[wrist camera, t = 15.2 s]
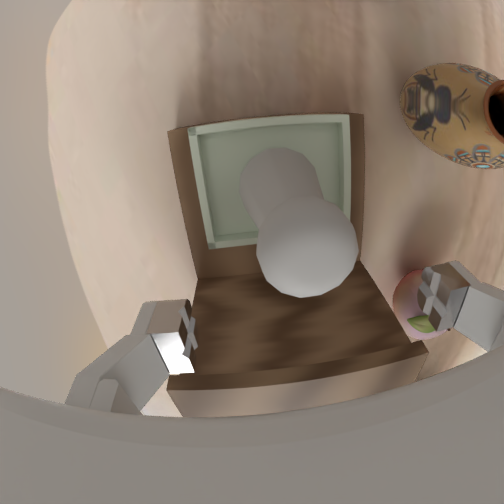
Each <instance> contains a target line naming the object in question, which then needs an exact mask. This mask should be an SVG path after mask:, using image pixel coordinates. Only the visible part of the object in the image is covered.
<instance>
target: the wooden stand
mask: <svg viewBox="0 0 504 504" xmlns="http://www.w3.org/2000/svg"><path fill="white" fill-rule="evenodd" d="M308 114H347V115H349V122H350V146H351V212H350V222H351V223H352V225H353V227H354V230H355V232H356V238H357V243H358V249H359V252H358V255H357V258H356V261H355V264H354V267H353V270H352V271H351V272H350V274H349V275H348V276H347V277H346V278H345V279H344V281H343V282H342V283H341V284H340V285H339V286H337V287H335V288H333V289H332V290H330V291H328V292H326V293H324V294H322V295H318V296H311V297H303V298H299V297H295V296H292V295H288V294H284V293H281V292H280V291H279V290H277V289H276V288H275V287H274V286H272V285H271V284H270V283H269V282H268V281H267V280H266V278H265V276H264V274H263V272H262V269H261V266H260V264H259V261H258V258H257V255H256V249H257V244H252V245H244V246H235V247H226V248H217V249H209V248H208V243H207V238H206V233H205V228H204V223H203V217H202V212H201V207H200V201H199V196H198V190H197V184H196V179H195V173H194V167H193V161H192V155H191V149H190V143H189V136H188V130H187V128H190V127H194V126H200V125H206V124H212V123H219V122H226V121H234V120H242V119H251V118H262V117H273V116H287V115H308ZM167 133H168V139H169V145H170V151H171V156H172V162H173V167H174V173H175V178H176V183H177V188H178V193H179V198H180V203H181V208H182V213H183V217H184V222H185V226H186V231H187V235H188V240H189V244H190V249H191V253H192V257H193V261H194V265H195V270H196V274H197V278H198V281H197V286H196V291H195V296H194V300H193V305H192V313H191V316H192V317H193V318H194V319H196V323H197V327H198V333H199V342H198V347H197V348H196V349H195V350H194V351H195V354H196V356H197V358H196V365H195V372H191V373H180V374H179V375H169V379H168V384H167V392H168V394H169V395H170V397H171V399H172V400H173V402H174V404H175V405H176V407H177V408H178V410H179V412H180V413H181V415H182V416H183V417H227V416H244V415H257V414H267V413H277V412H285V411H292V410H299V409H306V408H312V407H318V406H323V405H329V404H334V403H339V402H344V401H348V400H353V399H357V398H361V397H365V396H369V395H373V394H377V393H381V392H384V391H388V390H391V389H395V388H398V387H401V386H405V385H408V384H411V383H414V382H415V380H416V378H417V376H418V374H419V372H420V370H421V368H422V366H423V364H424V362H425V360H426V358H427V355H428V353H429V352H428V350H427V348H426V347H425V345H424V343H423V342H422V340H420V341H417V342H413V343H411V342H410V340H409V338H408V336H407V335H406V333H405V331H404V329H403V328H402V326H401V324H400V323H399V321H398V319H397V318H396V316H395V314H394V313H393V311H392V309H391V308H390V306H389V304H388V303H387V301H386V300H385V298H384V296H383V295H382V293H381V292H380V290H379V289H378V287H377V285H376V284H375V282H374V281H373V279H372V278H371V276H370V275H369V273H368V272H367V270H366V269H365V267H364V266H363V264H362V263H361V261H360V256H361V244H362V230H363V213H364V185H365V143H364V116H363V114H356V113H305V114H286V115H272V116H260V117H250V118H241V119H233V120H225V121H218V122H211V123H205V124H199V125H193V126H188V127H182V128H177V129H173V130H170V131H167Z"/></svg>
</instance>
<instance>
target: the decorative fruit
mask: <svg viewBox="0 0 504 504" xmlns="http://www.w3.org/2000/svg"><path fill="white" fill-rule="evenodd" d="M423 270H424V269H422V270H415V271H412V272H410V273H409V274H407V275H406V276H405V277H404V278H403V279H402V280H401V281H400V282H399V284H398V285H397V287H396V289H395V291H394V295H393V309H394V313H395V316H396V318H397V319H398V321H399V323H400V324H401V326H402V328H403V329H404V331H405V333H406V335H408V336H410V337H412V338H415V339H421V340H425V339H431V338H434V337H437V336H439V335H441V334H443V333H444V332H446V331H447V330H448V331H450V328H449V329H445V330H442V331H438V332H436V331H435V329H434V328H433V326H432V325H431V323H430V322H429V320H428V317H429V315H428V314H426V313H424V312H422V310H421V309H420V307H419V305H418V300H417V293H418V288H419V286H420V285H421V284H422V283H423V280H422V278H421V276H422V272H423Z"/></svg>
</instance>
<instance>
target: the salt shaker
mask: <svg viewBox="0 0 504 504" xmlns="http://www.w3.org/2000/svg"><path fill="white" fill-rule="evenodd" d="M239 193H240V196H241V199H242V202H243V205H244V207H245V209H246V211H247V212H248V214H249V215H250V217H251V218H252V220H253V221H254V223H255V225H256V226H257V228H258V229H259V232H258V240H257V249H256V255H257V258H258V261H259V264H260V266H261V269H262V272H263V274H264V276H265V278H266V280H267V281H268V282H269V283H270V284H271V285H272V286H274V287H275V288H276V289H277V290H279V291H280V292H281V293H284V294H288V295H292V296H295V297H299V298H303V297H311V296H318V295H322V294H324V293H326V292H328V291H330V290H332V289H333V288H335V287H337V286H339V285H340V284H341V283H342V282H343V281H344V279H345V278H346V277H347V276H348V275H349V274H350V272H351V271H352V270H353V267H354V264H355V261H356V258H357V255H358V252H359V249H358V243H357V238H356V232H355V230H354V227H353V225H352V223H351V222H350V221H349V219H348V218H347V217H346V216H345V214H344V213H343V212H342V211H341V209H340V208H339V207H338V206H336V205H335V204H334V203H331V202H329V201H326V200H324V197H323V194H322V191H321V187H320V184H319V181H318V177H317V174H316V170H315V167H314V166H313V165H312V164H311V163H310V161H309V160H308V159H307V158H306V157H305V156H304V155H303V154H302V153H299V152H296V151H294V150H291V149H288V148H271V149H266V150H264V151H262V152H261V153H259V154H258V155H256V156H254V157H253V158H251V159H250V161H249V162H248V164H247V165H246V166H245V168H244V169H243V171H242V172H241V174H240V184H239Z"/></svg>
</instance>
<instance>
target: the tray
mask: <svg viewBox="0 0 504 504" xmlns="http://www.w3.org/2000/svg"><path fill="white" fill-rule="evenodd" d="M187 130H188V136H189V143H190V149H191V155H192V161H193V167H194V173H195V179H196V184H197V190H198V196H199V201H200V207H201V212H202V217H203V223H204V228H205V233H206V238H207V243H208V248H209V249H217V248H226V247H235V246H244V245H252V244H257V240H258V232H259V229H258V228H257V226H256V225H255V223H254V221H253V220H252V218H251V217H250V215H249V214H248V212H247V211H246V209H245V207H244V205H243V202H242V199H241V196H240V193H239V184H240V174H241V172H242V171H243V169H244V168H245V166H246V165H247V164H248V162H249V161H250V159H251V158H253V157H254V156H256V155H258V154H259V153H261V152H262V151H264V150H266V149H271V148H288V149H291V150H294V151H296V152H299V153H302V154H303V155H304V156H305V157H306V158H307V159H308V160H309V161H310V163H311V164H312V165H313V166H314V167H315V170H316V174H317V177H318V181H319V184H320V187H321V191H322V194H323V197H324V200H326V201H329V202H331V203H334V204H335V205H336V206H338V207H339V208H340V209H341V211H342V212H343V213H344V214H345V216H346V217H347V218H348V219H349V221H350V212H351V146H350V122H349V115H347V114H308V115H287V116H273V117H262V118H251V119H242V120H234V121H226V122H219V123H212V124H206V125H200V126H194V127H190V128H187Z"/></svg>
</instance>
